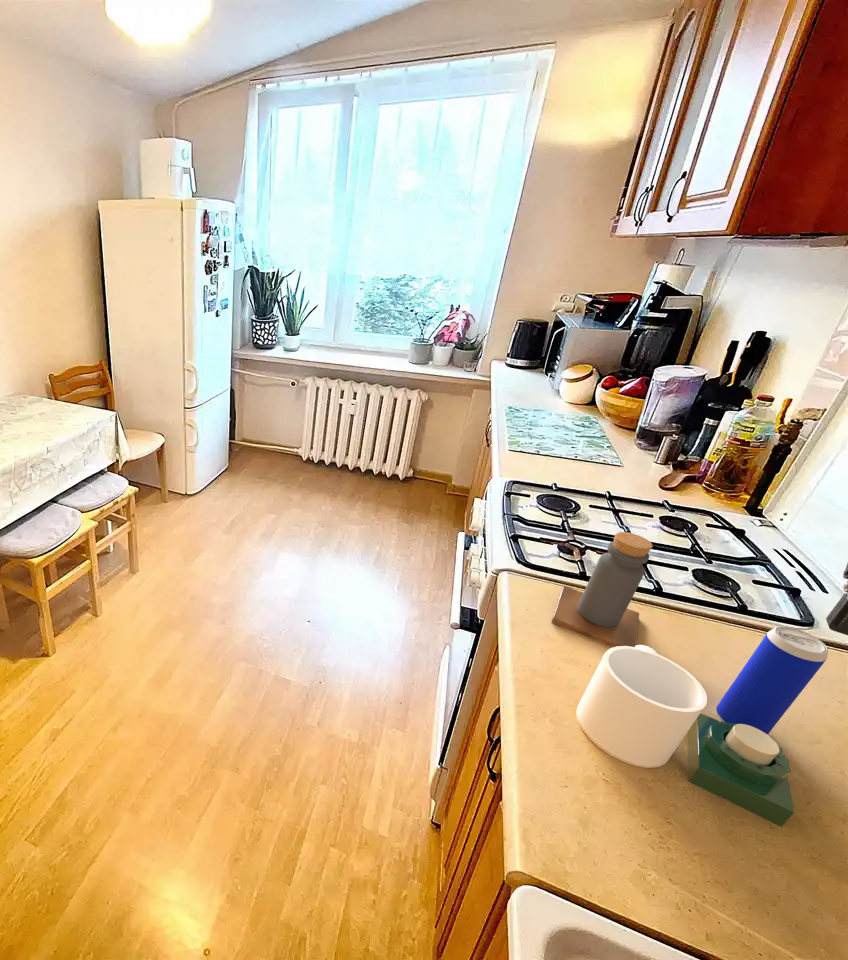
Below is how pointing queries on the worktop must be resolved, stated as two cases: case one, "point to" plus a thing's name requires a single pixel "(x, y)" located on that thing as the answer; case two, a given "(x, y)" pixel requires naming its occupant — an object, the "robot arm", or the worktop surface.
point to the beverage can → (772, 678)
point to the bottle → (615, 579)
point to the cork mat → (574, 621)
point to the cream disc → (752, 744)
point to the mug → (639, 705)
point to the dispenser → (738, 772)
